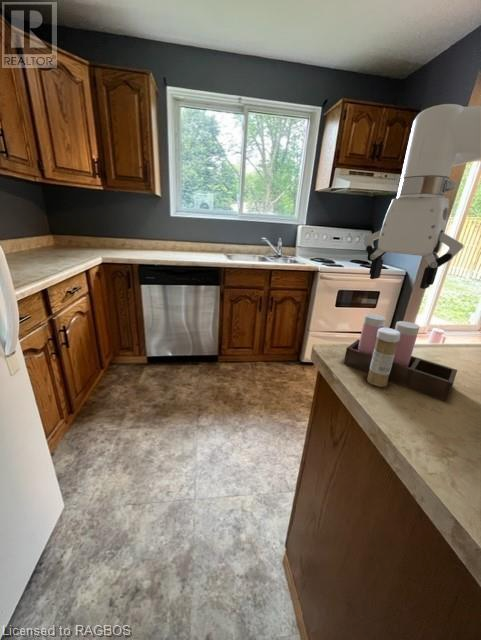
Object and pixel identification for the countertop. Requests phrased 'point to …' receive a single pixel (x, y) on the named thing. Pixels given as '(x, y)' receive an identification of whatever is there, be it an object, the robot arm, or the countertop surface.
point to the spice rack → (409, 372)
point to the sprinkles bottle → (383, 356)
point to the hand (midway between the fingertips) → (398, 282)
